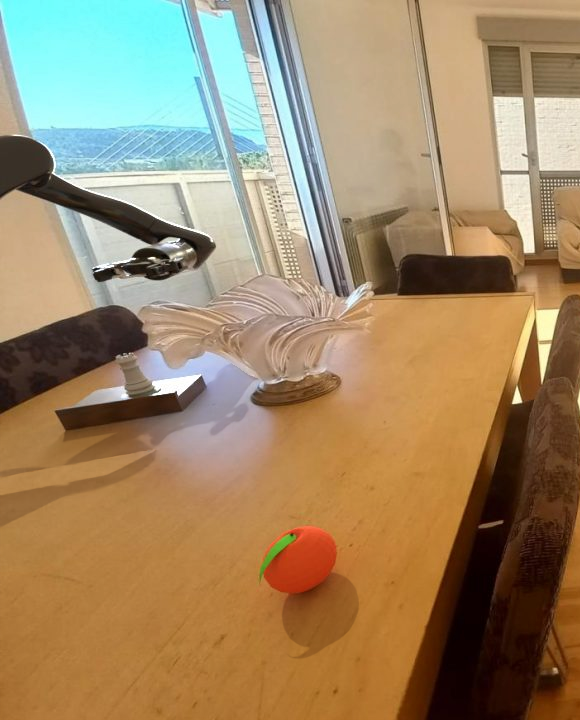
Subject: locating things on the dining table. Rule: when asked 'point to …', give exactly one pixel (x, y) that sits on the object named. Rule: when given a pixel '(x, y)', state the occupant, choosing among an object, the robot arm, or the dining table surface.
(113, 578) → the dining table surface
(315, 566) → the clementine
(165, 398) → the shelf
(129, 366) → the rook chess piece
